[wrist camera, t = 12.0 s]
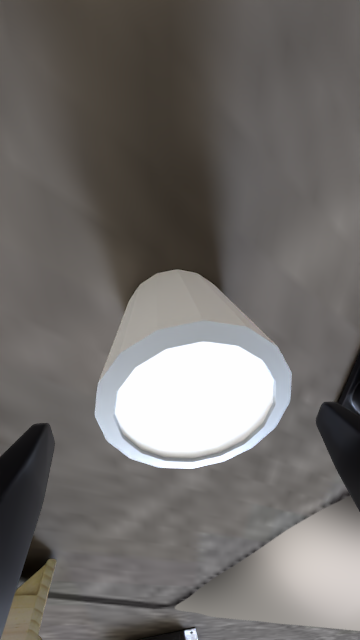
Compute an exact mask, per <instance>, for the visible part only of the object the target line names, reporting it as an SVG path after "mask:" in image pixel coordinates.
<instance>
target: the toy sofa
mask: <svg viewBox="0 0 360 640" xmlns="http://www.w3.org/2000/svg"><path fill="white" fill-rule="evenodd" d="M55 566H56V560H55V559H48V560H47V562H46V564H45V565H44V566H43V567H42V568H41V569H40V570H38V571H37V572H36V573H35V574H34V575H33V576H32V577H31V578H29V579H28V580H27V581H26V582H25V583H24V584H23V585H22V586H20V587H19V588H18V589H17V590H16V592H15V595H14V598H13V601H12V605H11V608H10V611H9V614H8V617H7V621H6V624H5V627H4V630H3V634H2V637H1V640H42V638H41V637H40V636H38V634H39V629H40V625H41V621H42V617H43V612H44V608H45V604H46V600H47V597H48V593H49V588H50V584H51V580H52V577H53V573H54V569H55Z"/></svg>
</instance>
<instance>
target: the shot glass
mask: <svg viewBox="0 0 360 640" xmlns="http://www.w3.org/2000/svg"><path fill="white" fill-rule="evenodd" d="M291 377H292V372H291V371H290V369H289V367H288V365H287V363H286V361H285V359H284V357H283V356H282V354H281V352H280V350H279V348H278V346H277V345H276V344H275V343H274V342H273V341H272V340H271V339H270V338H269V337H268V336H266V335H265V334H264V333H263V332H262V331H261V330H260V329H259V328H258V327H257V326H256V325H255V324H254V323H253V322H252V321H251V320H250V319H249V318H248V317H247V316H246V315H245V314H244V313H243V312H242V311H241V310H240V309H239V308H238V307H237V306H236V305H234V304H233V303H232V302H231V301H230V300H229V299H228V298H227V297H226V296H225V295H224V294H223V293H222V292H221V291H220V290H219V289H218V288H217V287H216V286H215V285H214V284H213V283H211V282H210V281H208V280H207V279H205V278H204V277H202V276H201V275H199V274H198V273H195V272H189V271H184V270H179V269H176V270H171V271H166V272H161V273H156V274H155V275H153V276H152V277H150V278H149V279H147V280H146V281H144V282H143V283H141V284H140V285H139V286H138V288H137V289H136V291H135V292H134V294H133V295H132V297H131V298H130V300H129V302H128V305H127V307H126V310H125V313H124V316H123V318H122V321H121V324H120V326H119V329H118V332H117V334H116V337H115V340H114V342H113V345H112V348H111V350H110V353H109V356H108V358H107V361H106V364H105V366H104V369H103V372H102V374H101V377H100V380H99V382H98V387H97V397H96V406H95V417H96V419H97V421H98V423H99V425H100V428H101V430H102V432H103V434H104V436H105V438H106V440H107V441H108V442H109V443H110V444H112V445H113V446H114V447H116V448H117V449H118V450H120V451H121V452H122V453H123V454H125V455H126V456H127V457H129V458H130V459H133V460H136V461H140V462H143V463H146V464H149V465H152V466H156V467H159V468H190V469H192V468H197V467H201V466H206V465H210V464H215V463H219V462H224V461H226V460H228V459H230V458H232V457H234V456H236V455H238V454H240V453H242V452H244V451H246V450H248V449H250V448H252V447H254V446H255V445H256V444H257V443H258V442H259V441H260V440H262V439H263V438H264V437H265V436H266V435H267V434H268V433H269V432H271V431H272V430H273V429H274V428H275V427H276V426H277V424H278V422H279V420H280V419H281V417H282V415H283V413H284V411H285V410H286V408H287V406H288V404H289V402H290V396H291Z"/></svg>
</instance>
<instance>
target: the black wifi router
mask: <svg viewBox="0 0 360 640" xmlns="http://www.w3.org/2000/svg"><path fill="white" fill-rule="evenodd" d="M191 631H193V632H192V633H190V632H191ZM140 640H198V636H197V632H196V628H192V629H187V630H182V631H177V632H173V633H168V634H163V635H159V636H154V637H149V638H145V639H140Z"/></svg>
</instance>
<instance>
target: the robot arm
mask: <svg viewBox="0 0 360 640" xmlns="http://www.w3.org/2000/svg"><path fill="white" fill-rule="evenodd" d="M316 424H317V427H318V429H319V432H320V434H321V436H322V438H323V441H324V443H325V445H326V447H327V450H328V452H329V454H330V456H331V459H332V461H333V463H334V465H335V467H336V469H337V471H338V473H339V475H340V477H341V479H342V481H343V482H344V484H345V486H346V488H347V490H348V491H349V493H350V495H351V497H352V498H353V500H354V502H355V504H356V506H357V507H358V509H359V511H360V354H359V356H358V358H357V360H356V363H355V365H354V367H353V370H352V372H351V374H350V377H349V379H348V381H347V384H346V386H345V388H344V391H343V393H342V395H341V398H340V400H339V402H338V403H337V402H324V403H323V404H322V405H321V407H320V410H319V412H318V415H317V417H316ZM54 446H55V441H54V437H53V434H52V431H51V427H50V425H49V424H48V423H39V424H34V425H32V426H31V427H30V428H29V429H28V430H27V431H26V432H25V433H24V434H23V435H22V436H21V437H20V438H19V439H18V440H17V441H16V442H15V443H14V444H13V445H12V446H11V447H10V448H9V449H8V450H7V451H6V452H5V453H4V454H3V455H2V456H1V457H0V640H1V637H2V634H3V630H4V627H5V624H6V621H7V617H8V614H9V611H10V608H11V605H12V601H13V598H14V595H15V592H16V589H17V585H18V582H19V579H20V576H21V572H22V569H23V566H24V563H25V560H26V556H27V553H28V550H29V547H30V544H31V540H32V537H33V534H34V531H35V527H36V524H37V521H38V518H39V515H40V511H41V508H42V504H43V501H44V496H45V491H46V487H47V482H48V477H49V472H50V467H51V462H52V457H53V452H54Z"/></svg>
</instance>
